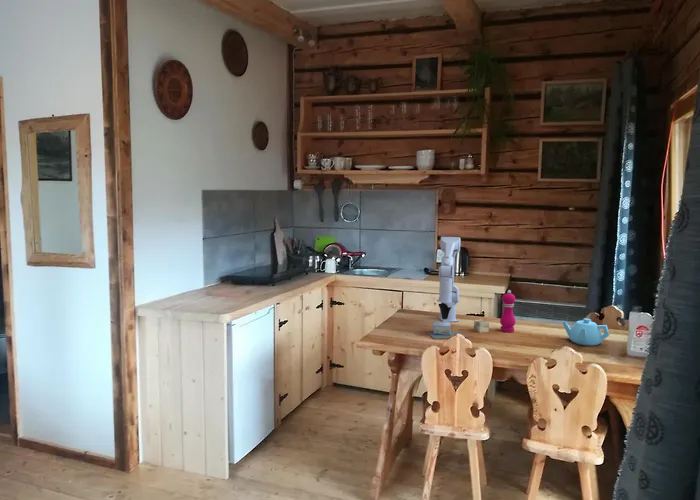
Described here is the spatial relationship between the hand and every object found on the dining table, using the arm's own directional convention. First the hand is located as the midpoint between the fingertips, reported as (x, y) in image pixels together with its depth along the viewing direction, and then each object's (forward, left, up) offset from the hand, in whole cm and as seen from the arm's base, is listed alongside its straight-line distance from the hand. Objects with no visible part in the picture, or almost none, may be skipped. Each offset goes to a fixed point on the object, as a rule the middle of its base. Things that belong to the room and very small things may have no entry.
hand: (444, 318), depth 260 cm
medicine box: (-4, 0, -4) cm, 6 cm away
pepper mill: (-1, +32, -7) cm, 33 cm away
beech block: (-2, +19, -7) cm, 20 cm away
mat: (+4, 0, -7) cm, 8 cm away
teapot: (+21, +59, -7) cm, 63 cm away
